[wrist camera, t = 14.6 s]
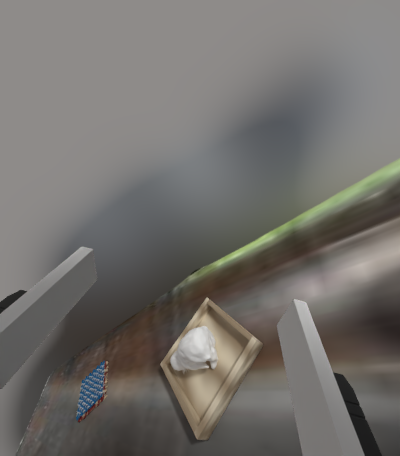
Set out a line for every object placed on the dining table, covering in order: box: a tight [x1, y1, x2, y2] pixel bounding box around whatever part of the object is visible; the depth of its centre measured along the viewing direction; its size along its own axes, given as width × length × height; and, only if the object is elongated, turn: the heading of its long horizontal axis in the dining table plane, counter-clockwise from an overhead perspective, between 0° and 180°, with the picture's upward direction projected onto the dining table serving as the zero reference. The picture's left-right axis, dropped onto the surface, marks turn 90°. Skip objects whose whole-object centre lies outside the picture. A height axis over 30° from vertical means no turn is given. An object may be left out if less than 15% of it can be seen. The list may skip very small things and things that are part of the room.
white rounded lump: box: [170, 326, 218, 373], centre depth 40 cm, size 6×8×12 cm
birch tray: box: [161, 298, 264, 440], centre depth 41 cm, size 18×16×3 cm
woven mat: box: [76, 361, 108, 422], centre depth 55 cm, size 10×11×2 cm
